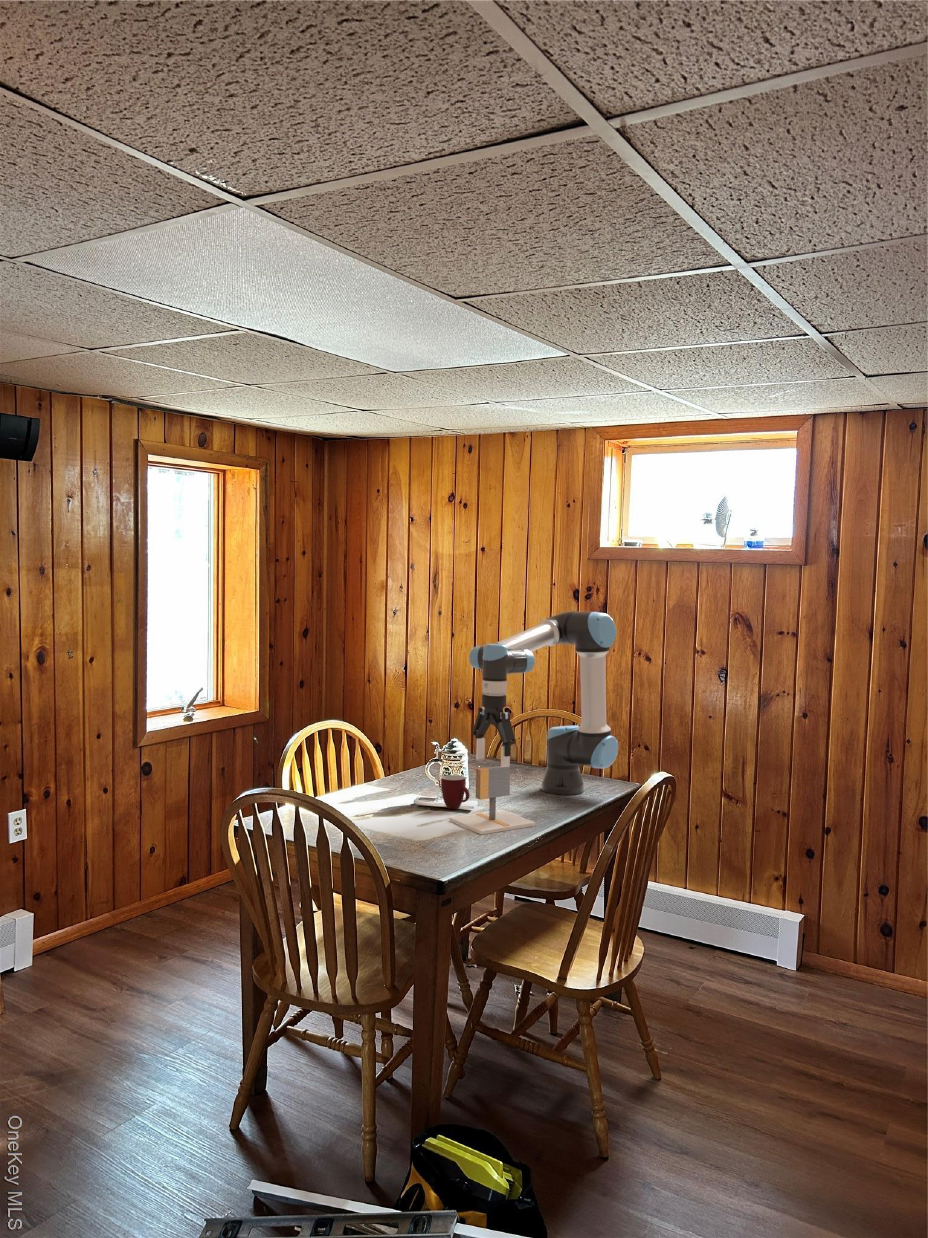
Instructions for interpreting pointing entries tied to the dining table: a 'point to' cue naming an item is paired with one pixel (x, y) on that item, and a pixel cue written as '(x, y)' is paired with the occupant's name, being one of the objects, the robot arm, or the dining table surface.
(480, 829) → the post base
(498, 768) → the grey slab
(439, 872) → the dining table surface
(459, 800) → the mug
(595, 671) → the robot arm
